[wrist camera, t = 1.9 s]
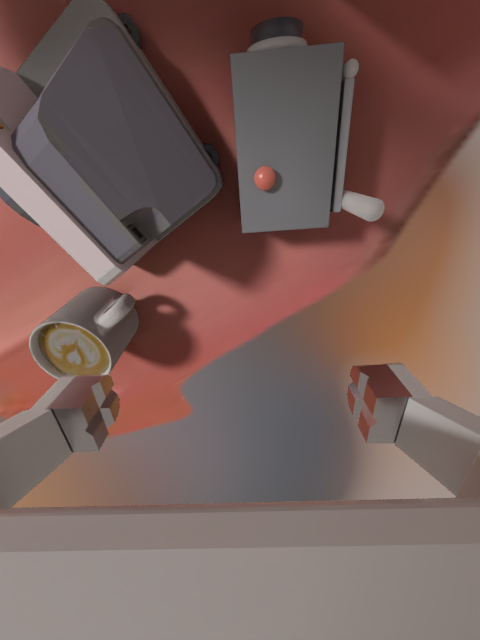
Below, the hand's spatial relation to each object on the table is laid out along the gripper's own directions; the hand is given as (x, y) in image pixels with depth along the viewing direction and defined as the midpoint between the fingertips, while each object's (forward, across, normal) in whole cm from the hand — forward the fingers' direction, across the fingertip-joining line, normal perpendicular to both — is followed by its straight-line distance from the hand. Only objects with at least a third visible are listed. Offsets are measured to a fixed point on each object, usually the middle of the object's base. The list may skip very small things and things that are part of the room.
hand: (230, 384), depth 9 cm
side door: (+29, -11, -9) cm, 32 cm away
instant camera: (+30, +13, -9) cm, 34 cm away
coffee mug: (+31, +20, +10) cm, 38 cm away
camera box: (+29, -5, -10) cm, 31 cm away
